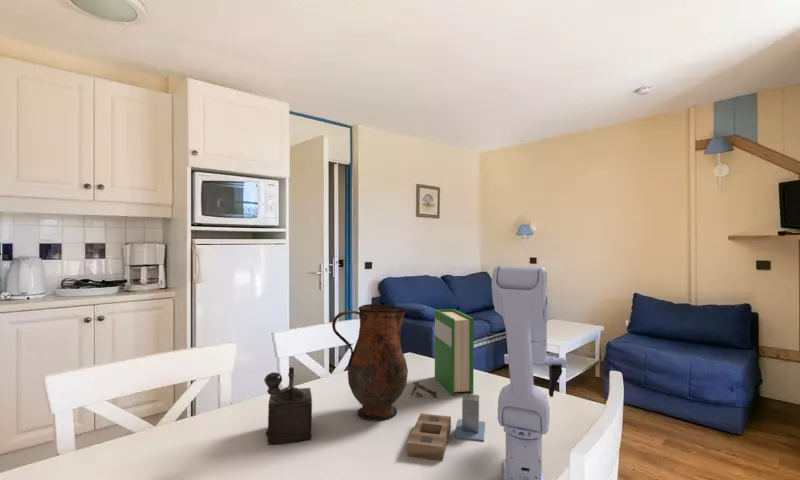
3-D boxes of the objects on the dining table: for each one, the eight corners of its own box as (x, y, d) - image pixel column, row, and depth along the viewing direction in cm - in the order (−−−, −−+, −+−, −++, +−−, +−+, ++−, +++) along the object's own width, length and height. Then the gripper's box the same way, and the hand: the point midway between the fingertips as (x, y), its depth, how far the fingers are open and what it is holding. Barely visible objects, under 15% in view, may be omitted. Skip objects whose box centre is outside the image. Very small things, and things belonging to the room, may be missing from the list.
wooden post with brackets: (408, 392, 127) (414, 379, 127) (431, 403, 126) (437, 390, 126) (408, 394, 125) (414, 381, 125) (431, 405, 124) (437, 392, 124)
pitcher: (415, 422, 107) (415, 310, 107) (334, 432, 102) (335, 313, 102) (399, 399, 123) (399, 301, 123) (328, 406, 118) (329, 303, 118)
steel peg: (478, 433, 100) (478, 401, 100) (462, 431, 101) (462, 399, 101) (479, 426, 104) (479, 395, 104) (463, 424, 105) (463, 393, 105)
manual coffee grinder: (267, 426, 105) (267, 357, 105) (310, 421, 107) (311, 354, 108) (262, 457, 90) (263, 376, 90) (313, 451, 92) (313, 372, 92)
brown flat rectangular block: (442, 460, 88) (442, 446, 88) (407, 455, 90) (407, 442, 90) (450, 428, 104) (451, 416, 104) (420, 424, 106) (420, 412, 106)
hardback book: (473, 393, 128) (473, 318, 128) (451, 395, 126) (451, 319, 127) (454, 375, 145) (454, 309, 145) (434, 376, 144) (434, 309, 144)
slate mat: (483, 441, 97) (483, 439, 97) (454, 437, 99) (454, 436, 99) (485, 423, 107) (485, 421, 107) (458, 420, 109) (458, 418, 109)
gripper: (562, 337, 102) (562, 390, 102) (504, 334, 106) (504, 385, 105) (568, 344, 95) (567, 401, 95) (505, 340, 99) (504, 396, 99)
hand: (534, 394), depth 100 cm, fingers open, 7 cm apart
